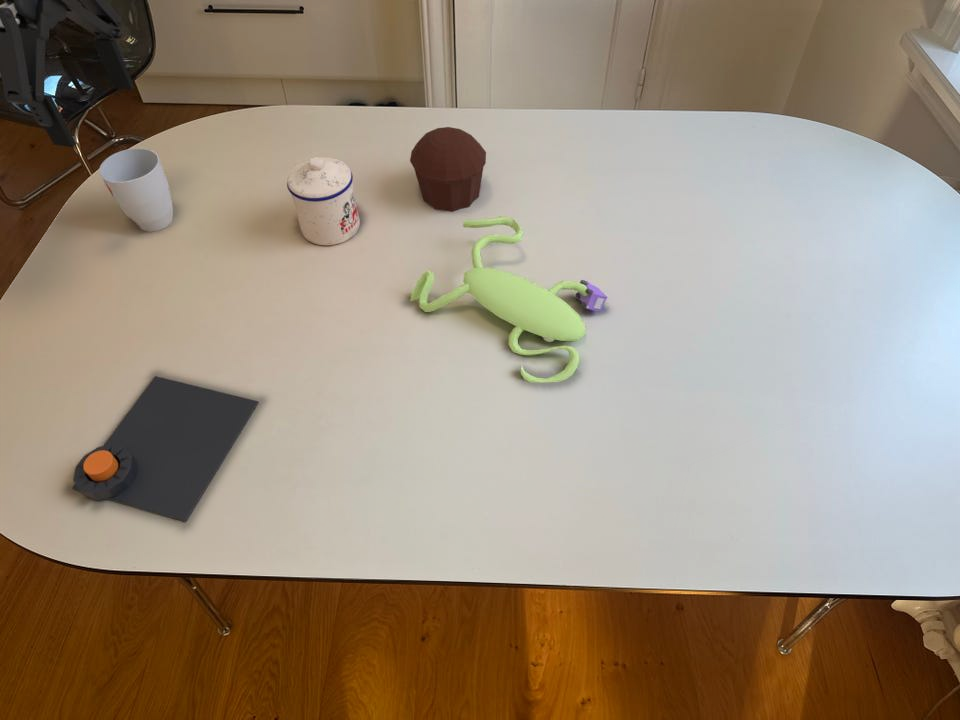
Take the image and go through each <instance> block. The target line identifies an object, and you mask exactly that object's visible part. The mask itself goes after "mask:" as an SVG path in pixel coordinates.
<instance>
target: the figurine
mask: <svg viewBox="0 0 960 720" xmlns="http://www.w3.org/2000/svg"><path fill="white" fill-rule="evenodd" d="M494 226H508V227H510V228H511V229H513V231H514V232H515V233H514V234H512V235H505V234H488V235H484V236H482V237H481V238H479V239H478V240H477V241H476V242H474V244H473V245H472V249H471V259H472V266H473V267H472V268H470V269H469V270H467V271H466V272H464V276H463V283H464V284H462V285H459V286H458V287H456V288H455V289H453V290H452V291H450V292H448V293H447V294H444V295H442V296H440V297H438V298H436V299H435V300H433V301H431V302H428V297H429V294H430V290H431V288H432V286H433V284H434V281H435V278H436V276H435V274H434V273H433V271H431V270H430V269H428V270H425V272H424V273H423V274H422V275H421V276H420V278H419V280H418V281H417V282H416V284H415V286H414V288H413V291H412V294H411V296H410V299H409V301H410V302H414V301H416V300H418V307H419V309H421V310H422V311H423V312H425V313H431V312H435V311H436V310H439V309H440V308H442V307H444V306H446V305H449V304H450V303H453V302H455V301H456V300H458V299H459V298H461V297H462V296H464V295H465V294H468V293H469V294H470V295H471V296H472V297H473V298H474V299H475V300H476V301H477V302H478V303H479V304H480V305H481V306H482V307H484V308H485V309H487V310H488V311H489V312H491V313H492V314H494V315H495V316H496V317H498V318H499V319H501V320H503V321H505V322H507V323H509V324H510V325H513V326H514V327H513V328H512V330H511V332H510V334H509V335H508V346H509V348H510V350H511V352H513V353H515V354H516V355H520V356H535V355H541V354H545V353H548V352H550V351H551V352H552V351H554V350H558V349H563V350H565V351H567V352H568V355H569V360H568V364H567V365H566V366H565V368H564V369H563V370H562V371H560V372H559V373H557V374H555V375H552V376H549V377H547V378H542V377H537V376H535V375H531V374H529V373H528V372H527V371H525V369H524V367H523V365H522V364H521V366H520V375H521V376H522V378H523V380H524V381H526V382H529V383H536V384H537V383H538V384H539V383H542V384H543V383H559V382H562V381H563V382H564V381H565V380H567V379H569V378H571V377H572V376H573V375H574V373H575V372H576V371H577V369H578V367H579V364H580V353H579V351H578V350H576V349H575V348H574V347H573V346H572V345H560V346H559V345H558V346H553V347H547V348H540V349H525V348H521V346H520V345H519V337H520V336H521V334H522V333H523V332H524V331H526V332H529V333H532V334H534V335H537V336H540V337H542V338H543V340H544V341H545V342H547V343H551V342H554V341H555V340H556V341H559V342H560V341H562V342H569V341H570V342H571V341H579V340H580V339H581V338H583V337H584V336H586V329H587V328H586V327H587V326H586V325H585V322H584V321H583V319H582V318H581V316H580V314H579V313H578V312H577V311H575V309H573V308H572V306H571V305H570V304H568V303H567V302H566V301H565V300H563V298H561V297H559V296H557V294H558V293H559V292H560V291H562V290H568V291H569V290H570V291H576V292H575V295H574V298H575V299H577V300H579V301H580V302H581V303H580V306H581V308H583V309H586V310H590V311H595V312H601V311H602V309H603V307H604V305H605V303H606V302H607V299H608V296H607V295H606V294H605V293H604V292H603V291H602V290H601V289H600V288H599V287H598V286H595V285H594V284H592V283H591V282H589V281H588V280H585V279H581V280H580V281H568V280H561V281H559V282H557V283H556V284H554V285H553V286H552V287H550V288H549V289H547V288H545V287H544V286H541V285H539V284H538V283H535V282H533V281H531V280H529V279H527V278H526V277H522V276H520V275H517V274H514V273H512V272H509V271H506V270H502V269H496V268H491V267H484V266H483V263H482V262H483V261H482V258H481V250H482V249H483V248H485V247H486V246H488V245H489V244H490V245H491V244H506V245H515V244H517V243H520V242H521V241H522V238H523V234H524V232H523V229H522V227H521V225H520V224H519V223H518V222H517V221H516V220H514V219H513V218H512V217H509V216H505V215H504V216H497V217H493V218H485V219H484V218H483V219H465V220H464V221H463V224H462V227H463V228H468V229H479V228H487V227H489V228H490V227H494Z"/></svg>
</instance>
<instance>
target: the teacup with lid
mask: <svg viewBox="0 0 960 720" xmlns="http://www.w3.org/2000/svg"><path fill="white" fill-rule="evenodd" d="M353 180H354V175H353V172H352V170H351V168H350V167H349V166H348V165H347V164H345V162H343V161H341V160H339V159H336V158H331V157H319V156H315V157H311V158H310V159H307V160H305V161H302V162H301V163H299V164H297V165H296V166H294V168H292V170H291V171H290V172H289V174H288V176H287V180H286V187H287V190H288V192H289V193H290V194H291V199H292V202H293V206H294V209H295V213H296V216H297V220H298V224H299V228H300V231H301V234H302V235H303V237H304V238H305V239H306V241H308V242H310V243H313V244H315V245H319V246H334V245H339V244H342V243H345V242H346V241H348V240H350V239H351V238H352V237H354V235H355V234H356V233H357V232H358V230H359V227H360V225H361V224H360V222H361V221H360V216H359V210H358V205H357V201H356V196H355V195H356V194H355V190H354V186H353V185H354V184H353Z"/></svg>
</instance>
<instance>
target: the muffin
mask: <svg viewBox="0 0 960 720" xmlns="http://www.w3.org/2000/svg"><path fill="white" fill-rule="evenodd" d="M409 158H410V159H409V162H410V164H411V165H412V167H413V169H414V173H415V176H416V180H417V183H418V187H419V189H420V193H421V197H422V200H423V202H425V203H426V204H428V205H429V206H431V208H433V209H434V210H437V211H438V210H439V211H446V212H447V211H448V212H456V211H459V210H461V209H467V208H470V207H471V205H473V203H474V202H475V201H476V200H477V199H479V197H480V192H481V186H482V185H481V184H482V179H483V172H484V167H485V165H486V164H487V163H486V162H487V151H486V150H485V149H484V147H483V146H482V145H481V143H480V142H478V140H477V139H476V138H475V137H474V135H472V134H470V133H468V132H466V131H464V130H463V129H461V128H458V127H451V126H445V127H437V128H434V129H432V130H430V131H428V132H426V133H425V134H423V136H422V137H421V138H420V139H419V140H418V141H417V142H416V143H415V145H414V147H413V148H412V150H411V151H410V157H409Z"/></svg>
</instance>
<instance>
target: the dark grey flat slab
mask: <svg viewBox="0 0 960 720" xmlns="http://www.w3.org/2000/svg"><path fill="white" fill-rule="evenodd" d="M259 403H260V402H259V400H255V399H251V398H246V397H243V396H238V395H234V394H230V393H226V392H221V391H217V390H213V389H210V388H205V387H201V386H198V385H193V384H189V383H185V382H181V381H177V380H173V379H169V378H164V377H160V376H157V375H154V377H153V378H152V380H151V381H150V382H149V384H148V385H147V386H146V388H145V389H144V391H143V392H142V393H141V395H140V396H139V397H138V398H137V400H136V401H135V403H134V404H133V405H132V406H131V407H130V409H129V411H128V412H127V413H126V414H125V416H124V417H123V419H121V421H120V423H119V424H118V425H117V427H116V428H115V429H114V431H113V432H112V433H111V435H110V436H109V438H108V439H106V441H105V442H104V444H103V445H102V446H101V445H100V446H98V447H96V448H94V449H92V450H91V451H89V452H88V453H86V454H84V455H83V456H82V457H81V459H80V460H79V462H78V463H77V464H76V466H75V468H74V473H73V483H74V484H73V486H72V487H71V489H72V490H73V491H76V492H79V493H82V494H83V496H84V497H86V498H90V499H92V500H96V501H101V500H102V501H103V500H107V501H110V502H114V503H117V504H121V505H124V506H128V507H132V508H135V509H138V510H141V511H144V512H149V513H151V514H155V515H159V516H162V517H165V518H169V519H173V520H177V521H180V522H183V523H187V522H188V520H189V519H190V517H191V515H192V514H193V512H194V510H195V508H196V507H197V505H198V504H199V502H200V501H201V499H202V497H203V495H204V494H205V492H206V491H207V489H208V487H209V486H210V484H211V482H212V481H213V479H214V477H215V476H216V475H217V473H218V472H219V471H218V470H219V469H220V468H221V466H222V465H223V463H224V461H225V459H226V458H227V456H228V454H229V453H230V452H231V449H232V448H233V446H234V445H235V443H236V442H237V440H238V438H239V436H240V435H241V434H242V431H243V430H244V429H245V426H246V425H247V423H248V421H249V420H250V418H251V417H252V415H253V413H254V412H255V410H256V408H257V407H258V405H259ZM101 450H105V451H108V452H110V453H111V454H112V455H113V456H114V458H115V459H116V460H117V462H118V470H117V472H116V473H115V474H114V475H113V476H112V477H111V478H109V479H108V480H105V481H94V480H92V479H91V478H90V477H89V476H88V474H87V473H86V472H85V471H84V468H83V465H84V462H85V460H86V459H87V457H88V456H90V455H91V454H92V453H94V452H97V451H101Z"/></svg>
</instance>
